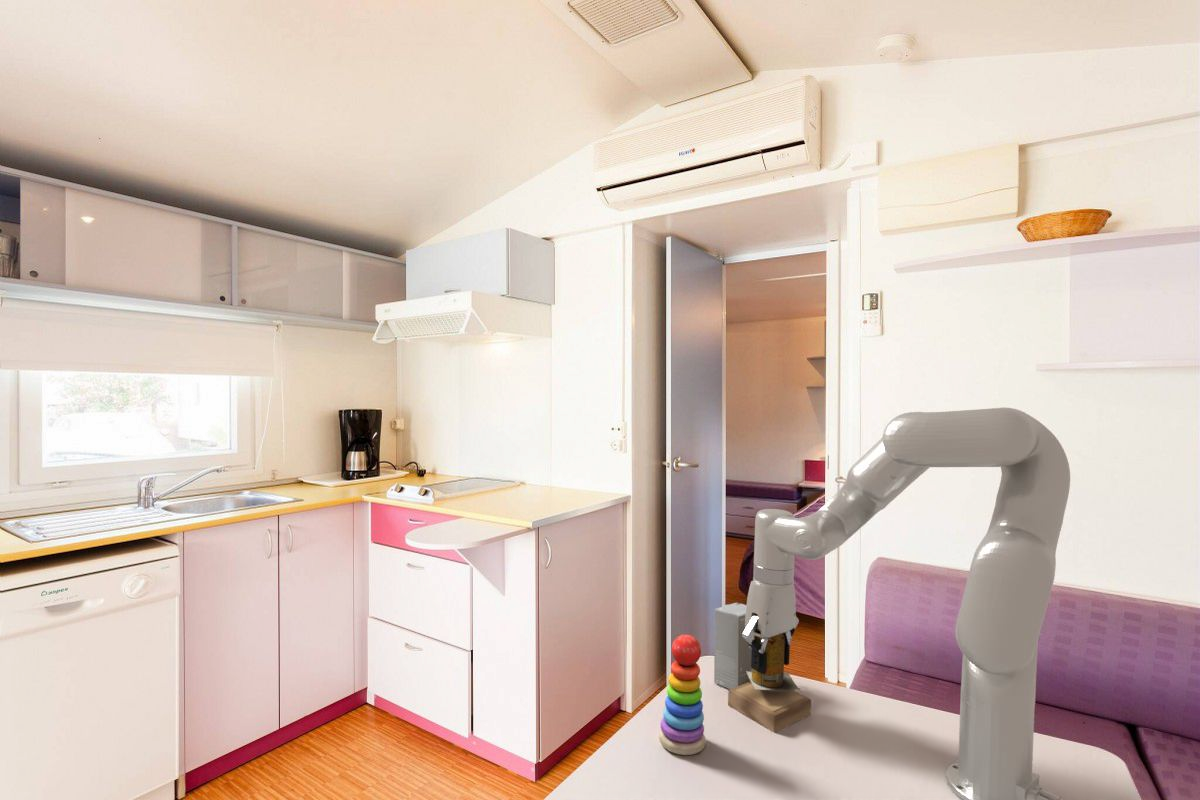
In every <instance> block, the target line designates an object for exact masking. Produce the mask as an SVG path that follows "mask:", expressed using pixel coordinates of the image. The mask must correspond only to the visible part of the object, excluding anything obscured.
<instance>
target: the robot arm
mask: <svg viewBox="0 0 1200 800" xmlns="http://www.w3.org/2000/svg"><path fill="white" fill-rule="evenodd" d="M885 426H886V427H885V428H884V430H883V434H882V437H881V438H880V439H879V440H878V441H877V442H876V443H875V444H874V445H873V446H872V447H871V448H870V449H869V450H867V452H866V453H865V454H864V455H862V457H860V458H859V459H858V460H857V461H856V462H855V463H854V464H852V466H851V467H850V468H849V470H848V471H847V476H846V479H845V482H844V484H843V485H842V487H841V488H840V489H839V490H838V491H837V492H835V494H834V495H833V496H832V497H831V498H830V499H829V500H828V501H827V502H826V503H824V505H822V506H821V507H820V508H819V509H818V510H816V512H813V513H811V514H809V515H807V516H802V517H795V515H794V514H793V513H792V512H790V511H789V510H785V509H777V508H764V509H760V510H759V511H757V513H756V515H755V521H754V522H755V524H754V545H753V547H754V548H753V549H754V551H753V552H754V553H753V574H752V575H753V576H752V580H751V581H750V585H749V588H748V593H747V599H746V604H745V605H746V615H745V630H744V632H743V634H742V636H743V638H744V639H745V640H746V641H747V643H748V645H749V647H750V648H751V649H752V654H751V668H752V669H754V670H756V671H758V672H760V673H762V674H765V673H766V667H767V653H765V648H766V645H767V641H768V638H769V637H772V636H775V635H778V634H780V633H783V635H784V637H785V647H784V666H788V665H789V666H790V653H791V652H790V651H791V649H790V648H791V647H790V646H791V644H792V643H793V638H792V637H793V635H794V633H795V631H796V628H797V626H798V624H799V622H800V620H799V618H798V617H797V614H796V613H797V609H796V608H797V607H796V606H797V604H796V603H797V600H796V587H795V581H794V580H795V556H796V557H797V558H801V559H805V560H810V561H812V560H818V559H819V560H820V559H821V558H824V557H825V556H826V555H828V554H830V553H832V552H833V551H834V550H836V549H838V548H839V547H841V546H842V545H844V544H845V542H846V541H848V540H849V539H850V538H851V537H852V536H853V535H854V534H856V533H857V532H858V531H859V530H860V529H862V527H864V526H865V525H866V524H867V523H868V522H869V521H871V519H872V518H874V517H875V515H876V514H878V513H879V512H880V511H882V510H884V509H885V508H886V507H888V505H889V504H891V502H892V501H894V500H895V499H896V498H897V497H898V496H899V495H900V494H901V493H903V491H905V490H906V489H907V488H908V487H909V486H911V484H912V483H914V482H915V481H916V480H917V479H919V477H920V476H922V475H923V474H924V473H925V472H927V470H928V469H930V468H1000V470H1001V477H1000V483H999V487H998V490H997V494H996V497H995V504H994V509H993V512H992V516H991V520H990V523H989V526H988V529H987V532H986V533H985V534H984V537H983V538H982V540H981V541H980V542H979V544H978V546H977V548H976V549H975V552H974V554H973V557H972V561H971V564H970V568H969V570H968V571H969V572H968V575H967V578H966V579H967V580H966V584H965V587H964V592H963V594H962V595H963V596H962V599H961V602H960V603H961V605H960V607H959V610H958V611H959V612H958V615H957V620H956V624H955V628H954V629H955V630H954V631H955V639H956V643H957V646H958V647H959V650H960V651H961V653H962V660H961V681H960V682H961V684H960V700H959V701H960V703H959V706H960V707H959V708H960V709H959V729H958V730H959V733H958V756H957V757H958V759H957V760H958V761H957V762H955V763H952V764H950V765H949V766H947V769H946V777H945V778H946V782H947V785H948V786H949V788H950V789H951V790H952V791H953V793H954V794H956V795H957V797H959V798H960V799H961V800H1062V797H1061V796H1058V795H1056V794H1055V793H1053V792H1049V791H1047V790H1045V789H1043V787H1042V786H1041V785H1039V784H1040V775H1038V774H1036V773H1034V772H1033V759H1034V758H1033V757H1034V755H1033V753H1034V731H1035V726H1034V725H1035V706H1036V691H1037V687H1036V686H1037V668H1038V667H1037V666H1038V665H1037V664H1038V662H1037V661H1038V653H1039V652H1038V650H1039V648H1038V647H1039V637H1040V634H1041V631H1042V627H1043V623H1044V620H1045V615H1046V612H1047V609H1048V605H1049V601H1050V598H1051V593H1052V589H1053V585H1054V582H1055V576H1056V575H1055V574H1056V566H1057V565H1056V564H1057V563H1056V556H1057V555H1056V553H1057V547H1058V544H1059V543H1058V542H1059V538H1060V533H1061V530H1062V526H1063V523H1064V517H1065V513H1066V510H1067V509H1066V508H1067V503H1068V499H1069V494H1070V487H1071V470H1070V469H1071V467H1070V463H1069V461H1068V457H1067V454H1066V452H1065V449H1064V448H1063V446H1062V444H1061V443H1060V441H1059V439H1058V438H1057V437H1056V436H1055V434H1053V432H1052V431H1051V430H1050V429H1049V428H1048V427H1047V426H1045V425H1044V424H1043V423H1041V421H1038V420H1037V419H1036V418H1034V417H1033V416H1032V415H1030V414H1028V413H1026V412H1025V411H1022V410H1020V409H1017V408H1013V407H997V408H996V407H994V408H991V407H990V408H979V409H968V410H950V411H929V412H928V411H927V412H924V411H914V412H912V411H910V412H904V413H902V414H899V415H896V416H895V417H894V418H892V419H891V420H890V421H889V422H888V423H887V424H886V425H885ZM758 630H759V631H761V634H760V633H759V632H758ZM758 637H760V638H762V639H761V643H760V644H759V642H758V641H757V639H758Z"/></svg>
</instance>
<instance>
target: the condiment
mask: <svg viewBox="0 0 1200 800" xmlns="http://www.w3.org/2000/svg"><path fill="white" fill-rule="evenodd" d="M758 632H759V633H760V634H761V631H759V630H758ZM761 639H762V638H760V637H758V639H757V641H758V642H759V644H760V643H761ZM784 647H785V637H784V635H783V633H780V634H778V635H775V636H772V637H769V638H768V641H767V645H766V648H765V653H767V667H766V673H765V674H762V673H760V672H758V671H756V670H754V669H752V672H747V671H746V672H747V675H748V677H749V679H750V681H751V683H752V684H753V686H754V688H755V689H760V690H794V691H800V690H801V689H800V688H799V687H798V686H797V683H795V681H794V680H793V678H792V677H791V674H790V673H789V672H785V665H784Z"/></svg>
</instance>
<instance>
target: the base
mask: <svg viewBox="0 0 1200 800" xmlns="http://www.w3.org/2000/svg"><path fill="white" fill-rule="evenodd" d="M727 690H728V692H727V693H728V695H727V706H728V707H731V708H732V709H734V710H735V711H737V712H739V713H740V714H742V715H744V716H745V717H747V718H749V719H751V720H752V721H754V722H755V723H757V724H759V725H760V726H762V727H764V729H765V728H766V730H767V729H768V730H769V731H770V732H773V733H775V732H778V731H780V730H782V729H784V728H786V727H788V726H790V725H792V724H794V723H797V722H799V721H800V720H802V719H805V718H807V717H809V716H811V715H812V699H811V698H810V697H808V696H806V695H804V694H802V693H800V692H798V691H797V690H760V689H755V688H754V686H753V684H752V683H751V681H750V682H748V683H745V684H743V685H740V686H738V687H735V688H732V689H727Z"/></svg>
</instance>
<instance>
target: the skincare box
mask: <svg viewBox="0 0 1200 800" xmlns="http://www.w3.org/2000/svg"><path fill="white" fill-rule="evenodd" d="M746 605H747V604H744V603H740V602H733V603H730V604H724V605H722V606H720V607H717V608H715V609H714V668H713V669H714V670H713V672H714V674H713V675H714V676H713V679H714V681H713V682H714V684H715V685H719V686H721V687H724V688H725V689H727V690H730V689H732V688H735V687H738V686H740V685H743V684H745V683H748V682H750V679H749V677H748V675H747V672H752V668H751V654H752V649H751V648H750V647H749V645H748V643H747V641H746V640H745V639H744V638H743V636H742V634H743V632H744V630H745V615H746ZM746 671H747V672H746Z"/></svg>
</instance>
